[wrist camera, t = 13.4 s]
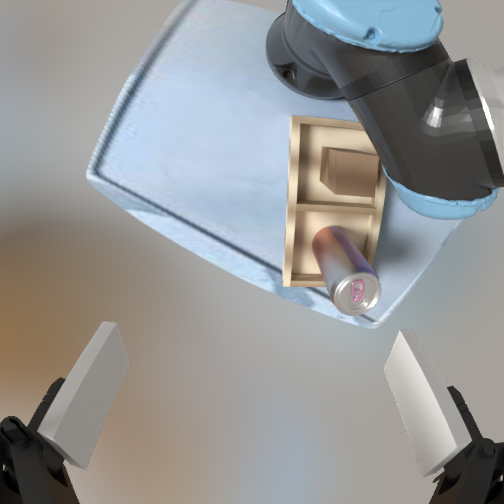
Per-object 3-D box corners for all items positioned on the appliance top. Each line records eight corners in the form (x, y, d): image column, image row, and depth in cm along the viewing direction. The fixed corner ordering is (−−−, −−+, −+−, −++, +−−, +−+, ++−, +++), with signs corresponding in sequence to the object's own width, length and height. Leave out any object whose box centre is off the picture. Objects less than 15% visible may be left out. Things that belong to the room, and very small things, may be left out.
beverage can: (346, 221, 41) (383, 266, 28) (348, 256, 44) (382, 310, 30) (308, 228, 42) (330, 277, 28) (313, 263, 44) (333, 321, 31)
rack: (290, 116, 36) (292, 115, 33) (381, 127, 36) (391, 128, 33) (282, 276, 46) (283, 286, 43) (362, 276, 46) (368, 286, 43)
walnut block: (321, 146, 37) (338, 151, 29) (354, 149, 37) (378, 156, 29) (319, 180, 39) (335, 194, 31) (352, 183, 39) (374, 197, 31)
